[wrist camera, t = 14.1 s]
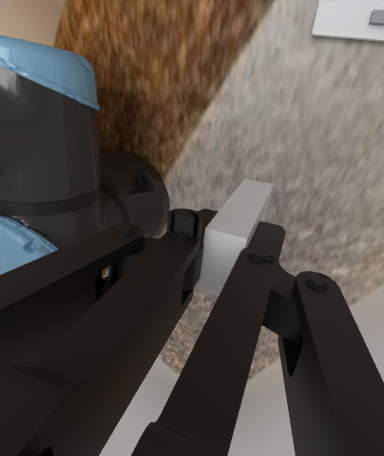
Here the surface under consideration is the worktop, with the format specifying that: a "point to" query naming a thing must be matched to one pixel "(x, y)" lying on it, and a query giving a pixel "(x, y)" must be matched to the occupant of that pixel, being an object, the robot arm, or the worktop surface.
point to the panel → (350, 20)
